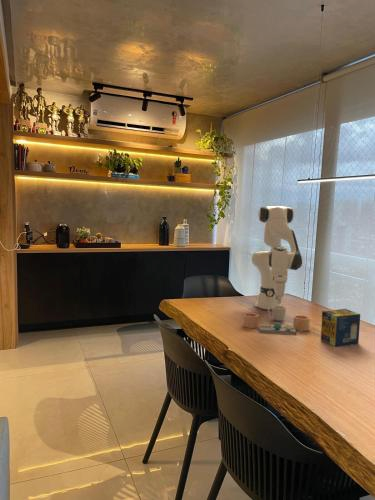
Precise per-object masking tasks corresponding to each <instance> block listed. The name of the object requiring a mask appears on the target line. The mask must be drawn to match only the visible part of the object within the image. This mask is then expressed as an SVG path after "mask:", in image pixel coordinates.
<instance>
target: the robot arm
mask: <svg viewBox="0 0 375 500" xmlns="http://www.w3.org/2000/svg"><path fill="white" fill-rule="evenodd" d="M294 217H295V214H294V210H293V208H292V207H289V206H281V205H276V206H275V205H271V206H270V205H269V206H265V205H264V206H261V207H260V208H259V210H258V219H259V221H260V222H261V223H263V224H264V223H265V226H264V232H263V233H264V234H263V242H264V244H265V245H266V246H268V247H270V250H261V251H255V252H254V253H252V256H251V263H252V265H253V267H256V269H257V270H258V271H259V274H260V280H261V281H260V284H261V285H260V288H259V289H260V290H259V291H260V293H258V295H257V296H256V299H257V300H256V302H255V304H254V307H256V308H259V309H263V310H268V309H269V308H272V307H273V306H282V305H281V304H282V298H283V297H284V296H285V290H286V283H287V281H288V271H289V270H293V271H297V270H299V269H300V268H301V267H302V265H303V258H302V257H303V256H302V254H301V252H300V249H299V245H298V241H297V237H296V234H295V231H294V229H292V228H291V227H290V226H289V224H290V223H292V221H293V219H294ZM282 240H283V241H286V242H287V243H288V244H289V247H290V251H288V249H287V247H284V246H282Z"/></svg>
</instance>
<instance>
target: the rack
mask: <svg viewBox="0 0 375 500" xmlns="http://www.w3.org/2000/svg"><path fill="white" fill-rule="evenodd" d="M258 329H259V333H263V334H278V335H279V334H282V335H283V334H284V335H297V330H295V328H294V327H293V326H292V329H291V330H287V329H286V328H285V326H281V328H280V329H278V330H277V329H275V328H274V325H259V327H258Z"/></svg>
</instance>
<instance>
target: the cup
mask: <svg viewBox="0 0 375 500" xmlns="http://www.w3.org/2000/svg"><path fill="white" fill-rule="evenodd" d="M286 310H287V308H286V307H285V306H283V305H281V306H273V307H272V308H269V309H267V314H268V315H269V316H271V317H272V319H273V321H276V322H282V321H284V320H285V317H286ZM270 311H271V313H270Z"/></svg>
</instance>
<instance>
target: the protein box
mask: <svg viewBox="0 0 375 500" xmlns="http://www.w3.org/2000/svg"><path fill="white" fill-rule="evenodd" d="M321 312H322V313H321V325H320V326H321V330H320V341H322V342H323V343H326V344H328V345H330V346H332V347H333V348H334V347H335V348H336V347H343V346H350V345H351V344H353V345H358V344H359V339H360V338H359V337H360V327H361V324H360V323H361V314H360V313H358V312H356V311H352V310H350V309H347V308H339V309H330V310H329V309H328V310H322V311H321ZM357 343H358V344H357Z"/></svg>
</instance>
